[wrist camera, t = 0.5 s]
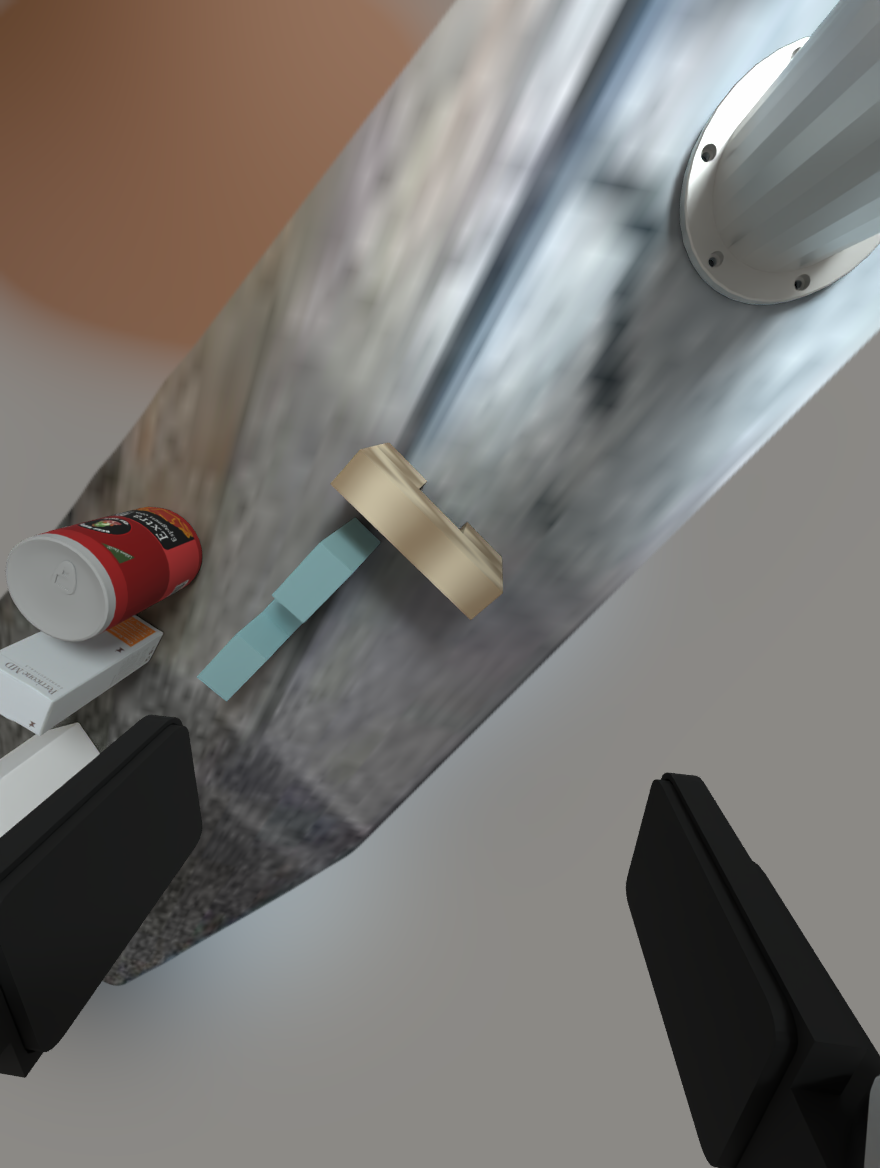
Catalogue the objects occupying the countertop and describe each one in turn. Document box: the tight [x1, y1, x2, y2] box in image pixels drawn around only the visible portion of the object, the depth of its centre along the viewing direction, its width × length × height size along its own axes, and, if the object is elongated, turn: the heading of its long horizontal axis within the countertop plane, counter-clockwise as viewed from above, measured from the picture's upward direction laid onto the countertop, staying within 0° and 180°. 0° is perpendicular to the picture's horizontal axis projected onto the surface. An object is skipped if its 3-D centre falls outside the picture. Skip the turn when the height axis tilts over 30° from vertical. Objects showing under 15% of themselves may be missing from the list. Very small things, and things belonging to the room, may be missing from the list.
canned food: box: [5, 507, 202, 642], centre depth 36 cm, size 8×8×11 cm
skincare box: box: [0, 615, 163, 736], centre depth 39 cm, size 6×4×12 cm
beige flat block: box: [331, 443, 503, 620], centre depth 34 cm, size 13×3×8 cm, turn 45°
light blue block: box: [197, 518, 381, 702], centre depth 37 cm, size 16×3×8 cm, turn 135°
